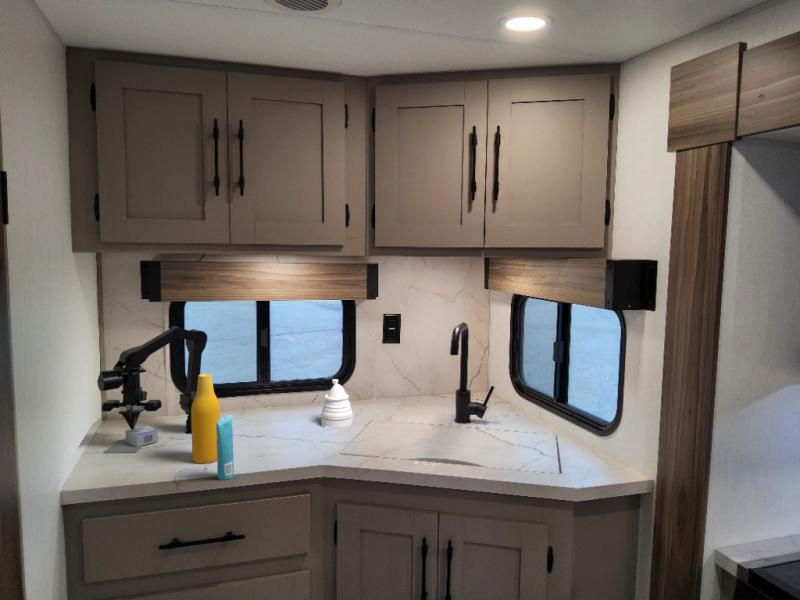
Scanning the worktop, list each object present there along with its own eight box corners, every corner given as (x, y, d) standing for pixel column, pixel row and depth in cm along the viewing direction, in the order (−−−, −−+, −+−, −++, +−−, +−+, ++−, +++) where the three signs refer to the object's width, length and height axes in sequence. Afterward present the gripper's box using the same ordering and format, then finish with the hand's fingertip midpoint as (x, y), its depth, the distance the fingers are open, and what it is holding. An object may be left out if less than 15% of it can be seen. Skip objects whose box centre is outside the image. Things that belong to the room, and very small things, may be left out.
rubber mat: (149, 440, 205) (149, 440, 205) (135, 452, 193) (135, 452, 193) (118, 441, 205) (118, 440, 205) (103, 453, 193) (102, 452, 193)
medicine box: (137, 435, 197) (124, 430, 202) (137, 447, 198) (125, 442, 203) (158, 430, 203) (145, 424, 209) (158, 441, 204) (146, 436, 209)
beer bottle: (223, 453, 194) (221, 371, 191) (218, 463, 185) (216, 378, 182) (195, 454, 193) (193, 372, 190) (189, 464, 184) (187, 378, 181)
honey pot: (316, 422, 230) (316, 379, 228) (343, 417, 237) (344, 375, 235) (330, 431, 219) (330, 386, 217) (358, 425, 226) (358, 382, 224)
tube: (225, 471, 179) (224, 413, 177) (238, 473, 177) (237, 414, 176) (212, 480, 171) (210, 420, 170) (226, 482, 170) (225, 421, 168)
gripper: (166, 380, 205) (167, 421, 207) (114, 380, 204) (116, 422, 206) (155, 388, 194) (156, 431, 196) (100, 388, 193) (101, 431, 195)
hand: (132, 428), depth 198 cm, fingers closed
